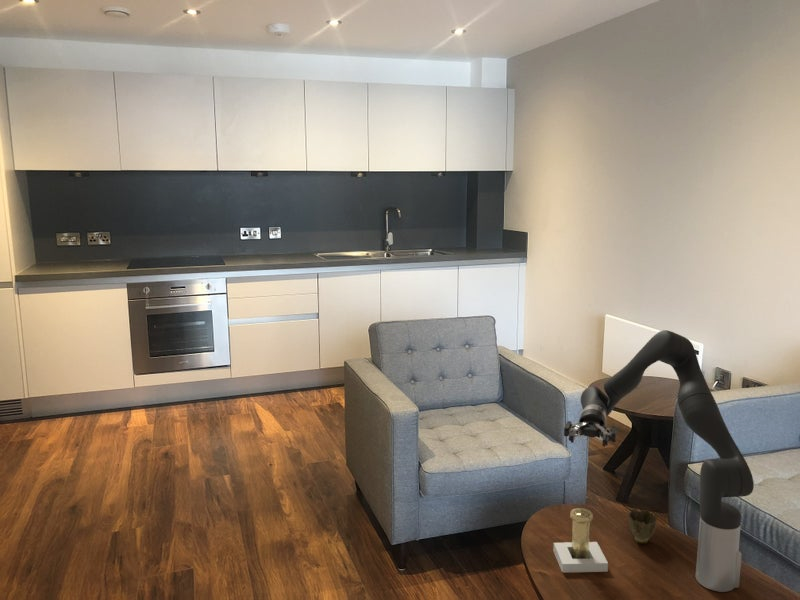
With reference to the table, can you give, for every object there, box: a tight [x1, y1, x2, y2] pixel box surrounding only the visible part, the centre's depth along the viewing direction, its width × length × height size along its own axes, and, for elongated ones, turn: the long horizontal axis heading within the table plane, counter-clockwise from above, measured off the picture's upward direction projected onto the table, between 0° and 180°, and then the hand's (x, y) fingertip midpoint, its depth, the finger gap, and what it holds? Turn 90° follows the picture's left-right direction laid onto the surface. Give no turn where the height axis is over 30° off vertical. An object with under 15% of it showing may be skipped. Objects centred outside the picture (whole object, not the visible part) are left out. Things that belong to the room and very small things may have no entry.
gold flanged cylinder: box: [569, 507, 594, 559], centre depth 178 cm, size 6×6×14 cm
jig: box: [553, 541, 609, 574], centre depth 179 cm, size 12×10×2 cm
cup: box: [628, 509, 658, 544], centre depth 188 cm, size 8×7×8 cm
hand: (587, 441), depth 184 cm, fingers open, 8 cm apart
